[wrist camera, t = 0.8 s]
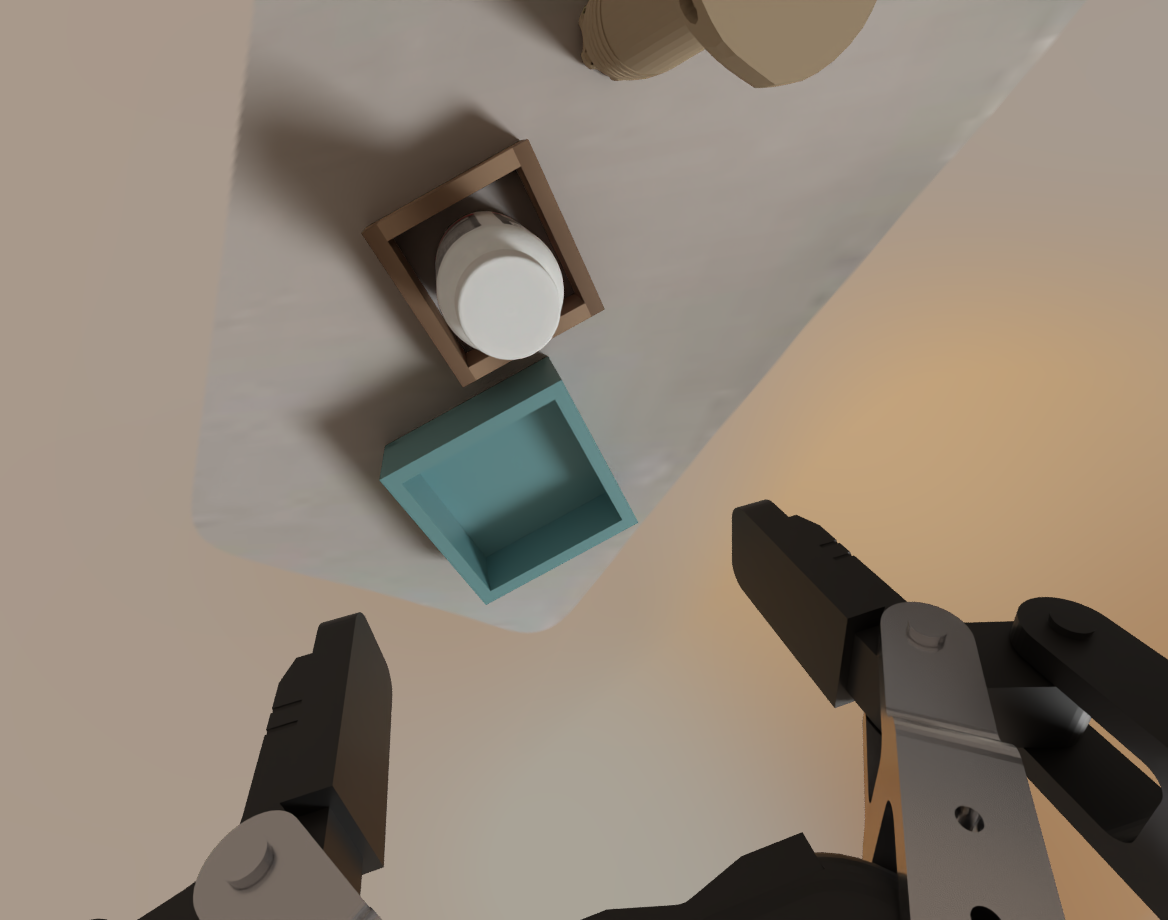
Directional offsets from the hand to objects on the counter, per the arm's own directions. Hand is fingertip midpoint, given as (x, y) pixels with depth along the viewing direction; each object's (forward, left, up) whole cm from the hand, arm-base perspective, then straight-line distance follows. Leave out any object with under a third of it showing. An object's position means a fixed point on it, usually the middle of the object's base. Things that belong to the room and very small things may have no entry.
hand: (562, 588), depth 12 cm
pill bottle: (-2, -2, -22) cm, 22 cm away
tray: (+3, +9, -22) cm, 24 cm away
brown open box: (-2, -2, -22) cm, 22 cm away
